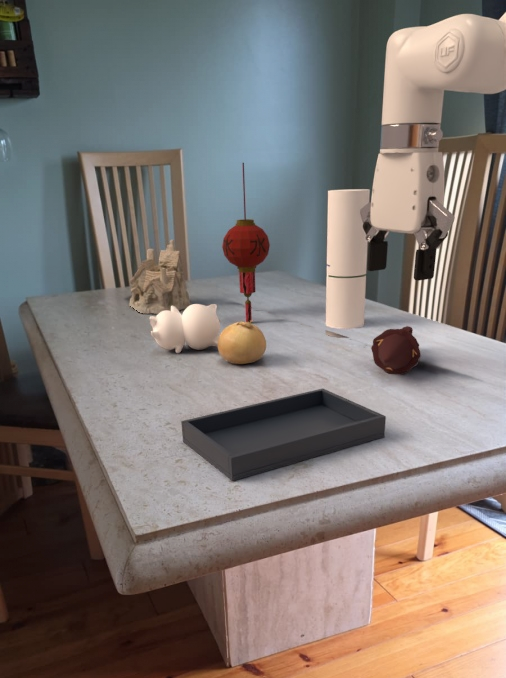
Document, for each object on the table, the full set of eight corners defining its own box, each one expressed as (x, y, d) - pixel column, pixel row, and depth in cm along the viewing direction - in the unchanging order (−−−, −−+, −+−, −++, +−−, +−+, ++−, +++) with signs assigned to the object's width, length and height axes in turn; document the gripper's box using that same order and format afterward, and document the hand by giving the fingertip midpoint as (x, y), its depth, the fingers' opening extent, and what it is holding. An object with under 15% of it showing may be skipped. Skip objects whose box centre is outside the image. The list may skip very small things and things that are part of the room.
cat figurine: (146, 298, 105) (217, 292, 106) (152, 320, 115) (216, 314, 116) (152, 348, 104) (223, 341, 105) (157, 366, 114) (222, 359, 115)
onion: (211, 367, 100) (209, 323, 97) (226, 353, 107) (224, 312, 104) (259, 369, 98) (258, 324, 95) (271, 355, 105) (271, 313, 102)
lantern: (241, 330, 122) (234, 162, 110) (217, 322, 130) (208, 164, 117) (280, 323, 127) (278, 161, 114) (255, 315, 134) (250, 162, 122)
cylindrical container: (355, 327, 122) (360, 189, 111) (369, 335, 115) (376, 189, 105) (320, 330, 120) (322, 190, 110) (332, 339, 114) (336, 191, 104)
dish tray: (384, 437, 72) (386, 416, 71) (232, 481, 63) (231, 458, 62) (322, 406, 82) (322, 388, 81) (182, 441, 73) (180, 421, 72)
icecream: (420, 345, 84) (434, 329, 97) (368, 328, 86) (389, 315, 99) (403, 392, 87) (419, 370, 100) (353, 374, 89) (376, 355, 102)
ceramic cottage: (147, 297, 156) (140, 235, 149) (203, 304, 149) (199, 239, 142) (108, 314, 144) (98, 247, 137) (167, 322, 137) (161, 252, 130)
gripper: (481, 138, 77) (464, 280, 84) (387, 143, 90) (379, 264, 97) (437, 138, 73) (423, 286, 80) (345, 143, 87) (340, 269, 94)
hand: (399, 274), depth 89 cm, fingers open, 9 cm apart
